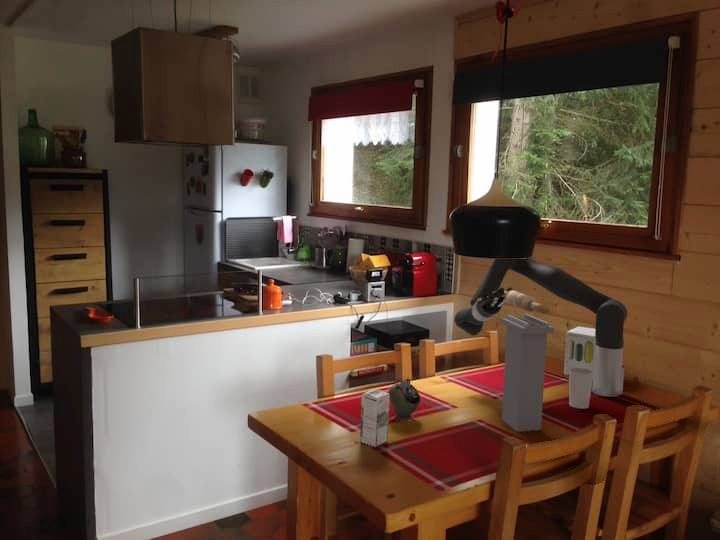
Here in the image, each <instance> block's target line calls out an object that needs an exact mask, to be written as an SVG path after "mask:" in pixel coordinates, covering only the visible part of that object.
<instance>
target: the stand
mask: <svg viewBox="0 0 720 540" xmlns="http://www.w3.org/2000/svg"><path fill="white" fill-rule="evenodd" d="M500 324H501V325H503V326H506V336H505V356H504V371H503V373H504V374H503V375H504V376H503V377H504V378H503V392H502V413H501V421H503V423H505V424H506V425H508V426H509V427H510V428H512V429H513V430H514V431H515V432H519V433H520V432H531V431H532V430H533V431H541V430H542V423H543V422H542V419H543V402H544V401H543V400H544V390H545V389H544V387H545V373H546V372H545V371H546V354H547V338H548V334H552V333H553V334H554V332H555V327H554V326H552V325H550V323H549V322H547V321H545V320H542V319H540V318H538V317H536V316H533V315H531V314H529V313H525V314H524V317H515V316H513V315H511V314H506V316H505V317H504V318H503V317H502V318H501V319H500Z"/></svg>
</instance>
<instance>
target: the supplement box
mask: <svg viewBox="0 0 720 540" xmlns="http://www.w3.org/2000/svg"><path fill="white" fill-rule="evenodd" d="M595 347H596V338H595V328H592V327H587V326H586V327H585V326H579V325H578V326H576V327H575V328H572V329H570V330H567V331H566V337H565V349H564V350H565V353H564V364H563V365H564V368H563V375H564V376H568V375H569V369H570V368H575V367H579V368H586V369H590V370H592V371H594V361H595Z"/></svg>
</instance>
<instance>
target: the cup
mask: <svg viewBox="0 0 720 540" xmlns="http://www.w3.org/2000/svg"><path fill="white" fill-rule="evenodd" d="M593 375H594V371H592V370H590V369H586V368H579V367H575V368H570V369H569V376H568V385H569V386H568V387H569V389H568V392H569V393H568V394H569V395H568V398H569V399H568V400H569V402H568V404H569V406H570V407H572V408H575V409H582V410H583V409H588V408H589V407H590V400H591V393H592V388H593Z"/></svg>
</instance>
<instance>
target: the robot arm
mask: <svg viewBox="0 0 720 540" xmlns="http://www.w3.org/2000/svg"><path fill="white" fill-rule="evenodd" d="M509 270H510V271H513V272H515V273H517V274H519V275H522V276H524V277H525V278H527V279H529V280H531V281H532V282H534V283H535V284H536V285H538V286H540V287H542V288H543V289H545V290H546V291H548V292H549V293H551V294H553V295H555V296H556V297H558V298H560V299H562V300H565V302H568V303H572V304H576V305H579V306H581V307H583V308H585V309H588V311H590V312H591V313H593V314H595V328H594V329H595V338H596V347H595V361H594V375H593V381H592V388H591V393H593V394H594V395H597V396H601V397H607V398H608V397H609V398H610V397H611V398H613V397H614V398H615V397H619V396H622V395H623V389H624V388H623V387H624V377H625V368H624V367H623V355H624V346H625V345H624V343H625V342H624V328H625V327H624V325H625V321H626V319H627V318H628V310H627V307H626V306H625V305H624V304H623V303H622V302H620V301H619V300H617V299H614V298H612V297H610V296H608V295H606V294H603V293H601V292H599V291H597V290H596V289H594V288H592V287H591V286H589V285H588V284H586V283H585V282H584V281H582V280H581V279H578V278H577V277H575V276H573V275H572V274H570V273H569V272H567V271H565V270H564V269H562V268H559V267H558V266H554V265H550V264H546V263H542V262H539V261H536V260H535V259H533V258H532V257H530V258H526V259H495V258H494V259H493V261H492V263H491V266H490V267H489V269H488V271H487V273H486V275H485V276H484V278H483V279H482V282H481V283H480V284H479V286H478V288H477V289H476V291H475V293H474V294H473V296H472V298H471V299H470V301H469V303H470V306H468V307H463V308H461V309H460V310H458V311H457V312H456V314H455V316H454V322H453V323H454V324H455V325H456V326H457V327H458V328H460V329H461V330H463V331H464V332H465V333H467V334H469V335H471V336H477V335H479V334H480V333H481V331H482V330H483V326H484V324H485V322H487V321H488V320H490V319H491V318H493V317H494V316H496V314H498V313H499V312H501V309H502V308H503V307H502V306H503V305H506V304H507V303H508V302H507V301H506V298H504V297H501V296H502V295H503V294H504V290H505V291H507V292H509V291H511V290H513V288H512V287H508V288H507V289H505V288H504V287H501V285H502V283H503V280H504V278H505V277H506V274H507V272H508V271H509Z"/></svg>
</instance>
